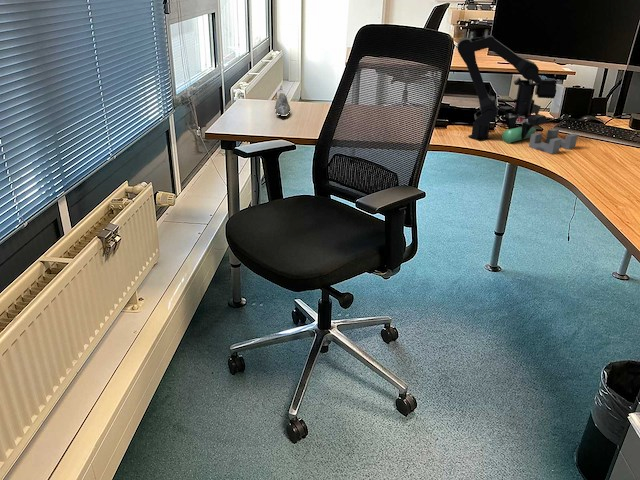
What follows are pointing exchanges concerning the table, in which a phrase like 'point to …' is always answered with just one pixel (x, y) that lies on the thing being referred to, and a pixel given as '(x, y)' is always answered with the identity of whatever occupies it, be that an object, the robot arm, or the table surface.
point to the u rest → (552, 141)
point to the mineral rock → (282, 105)
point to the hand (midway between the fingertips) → (517, 137)
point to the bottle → (516, 134)
